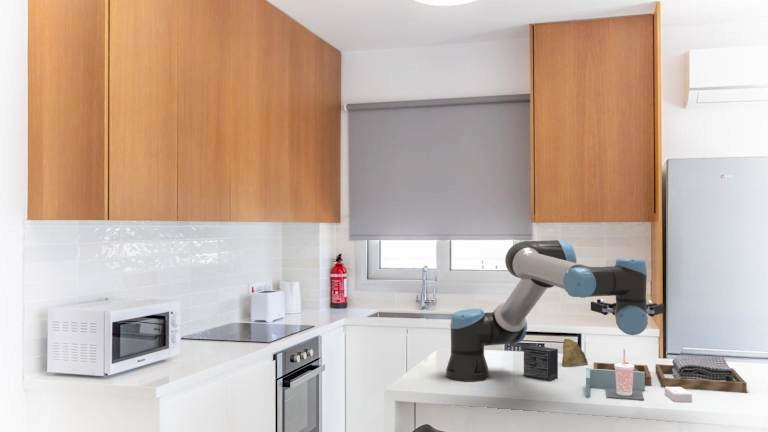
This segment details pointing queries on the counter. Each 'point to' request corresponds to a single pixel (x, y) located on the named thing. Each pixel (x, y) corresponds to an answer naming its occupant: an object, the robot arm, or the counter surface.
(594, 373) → the divider
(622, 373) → the beverage cup
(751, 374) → the counter surface
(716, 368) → the towel
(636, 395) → the coaster
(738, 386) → the towel frame
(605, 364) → the frame
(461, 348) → the robot arm
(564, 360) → the rock
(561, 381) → the counter surface
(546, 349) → the small box
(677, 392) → the soap
